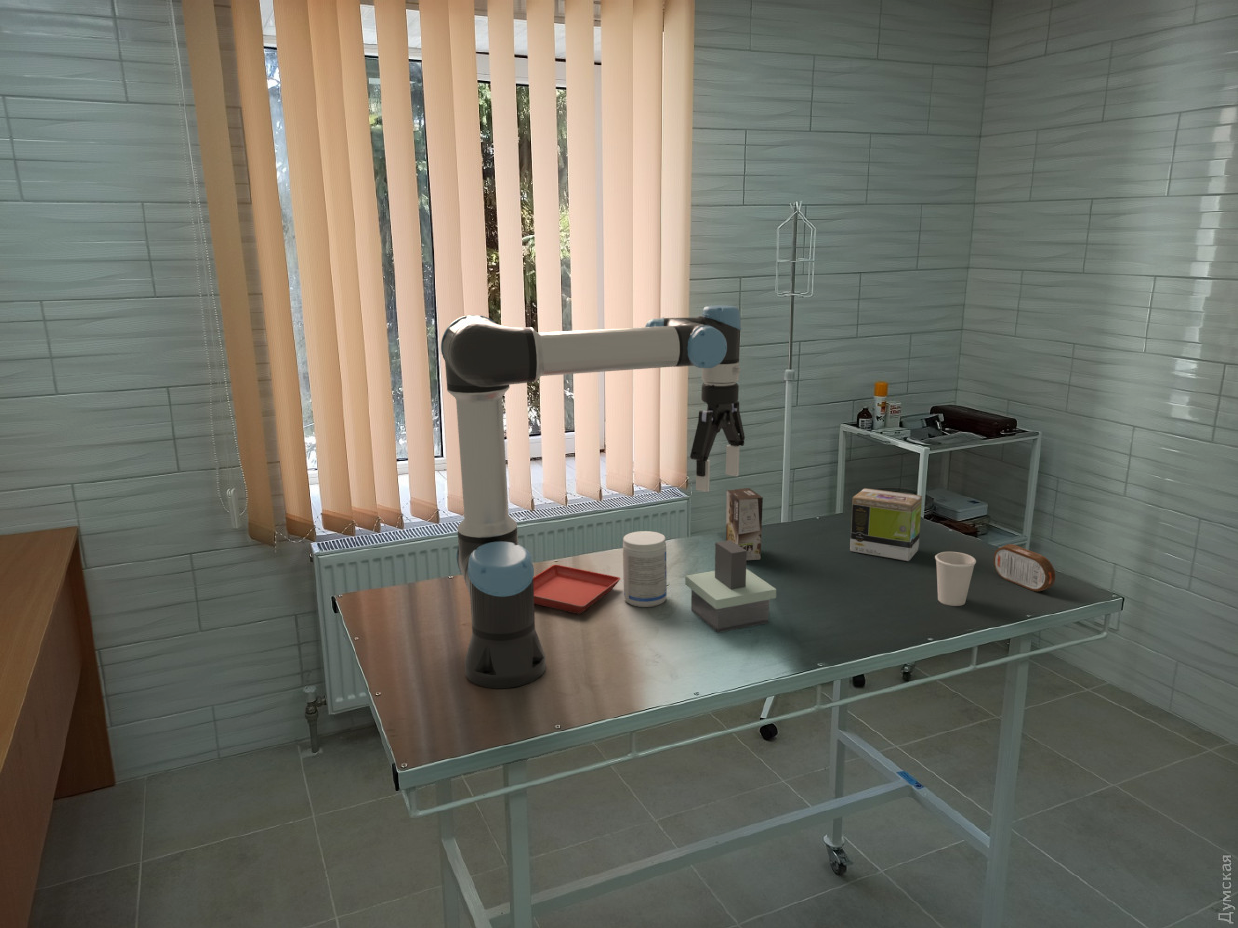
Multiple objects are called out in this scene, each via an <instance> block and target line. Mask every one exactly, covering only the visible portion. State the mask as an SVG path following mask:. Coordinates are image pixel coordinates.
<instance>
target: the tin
mask: <svg viewBox="0 0 1238 928" xmlns="http://www.w3.org/2000/svg"><path fill="white" fill-rule="evenodd" d="M993 566H994V568H995V569H994V570H995V571H996V573H997V574H998V575H999V576H1000V577H1001V579H1004V580H1005V581H1008V582H1010V583H1013V584H1014V585H1015V584H1016V585H1018V586H1020V587H1023V588H1024V589H1027V590H1029V591H1031V592H1041V591H1045V590H1048V589H1051V587H1053V586H1054V584H1055V582H1056V581H1055V580H1056V571H1055V569H1054V566H1053V563H1051V561H1050V560H1049V559H1048V558H1047V557H1045V556H1044V555H1042V554H1039V553H1038V552H1034V551H1032V550H1029V549H1027V548H1024V547H1021V546H1018V545H1016V544H1014V543H1008V544H1005V545H1003V546H1001V547H999V548H997V549H996V550H995V552H994V553H993Z"/></svg>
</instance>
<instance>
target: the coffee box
mask: <svg viewBox="0 0 1238 928" xmlns="http://www.w3.org/2000/svg"><path fill="white" fill-rule="evenodd" d="M763 501H764V498H763V496H761V495H760V494H758V493H757V492H755V491H754V490H753V489H752V488H750V487H748V488H747V487H746V488H737V489H728V490H726V512H725V514H726V516H725V521H726V522H725V528H726V529H725V534H726V535H725V541H728V540H731V541H732V542H734V543H735V544H737V545H738V546H740V547H742V548H743V549H745V550H746V551H747V558H746V561H755V560H756V561H757V560H761V558H762V557H761V556H762V555H761V552H762V530H763V529H762V527H763V525H762V524H763V503H764V502H763Z"/></svg>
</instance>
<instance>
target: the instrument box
mask: <svg viewBox="0 0 1238 928" xmlns="http://www.w3.org/2000/svg"><path fill="white" fill-rule="evenodd" d="M690 590H691V592H690V593H691V594H690V595H691V599H690V600H691V601H690V602H691V603H690V606H691V607H690V609H691V611H692V613H694V614H695V615H696V616H698V618H700V619H701V620H702V621H703V622H704V623H705V624H707V626H709V627H710V628H711V629H712V630H714V631H715V632H716V633H717V634H719V633H725V632H728V631H734V630H739V629H744V628H749V627H753V626H754V627H755V626H759V625H760V626H761V625H764V624H769V620H770V619H769V617H770V616H769V615H770V613H769V612H770V610H769V609H770V599H769V600H764V601H758V602H753V603H747V604H742V605H737V606H731V607H726V608H721V609H715V608H714V607H713V606H711V605H710V604H709V603H708V602H706V601H705V600H704V599H703V598H702V597H700V596H699V595H698V594H697V593H695V592H694V591H693V590H692V589H690Z"/></svg>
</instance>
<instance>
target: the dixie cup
mask: <svg viewBox="0 0 1238 928" xmlns="http://www.w3.org/2000/svg"><path fill="white" fill-rule="evenodd" d="M934 559H935V563H936V581H937V583H936V585H937V587H936V588H937V601H939V602H940V603H941V604H943V605H946V606H951V607H958V606H959V607H960V606H963V605H965V604H966V600H967V596H968V593H969V588H970V584H971V579H972V576H973V572H974V567H975V565H976V563H977V560H976V558H975V557H974V556H972V555H970V554H967V553H964V552H957V551H942V552H939V553H937V554H935V556H934Z"/></svg>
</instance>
